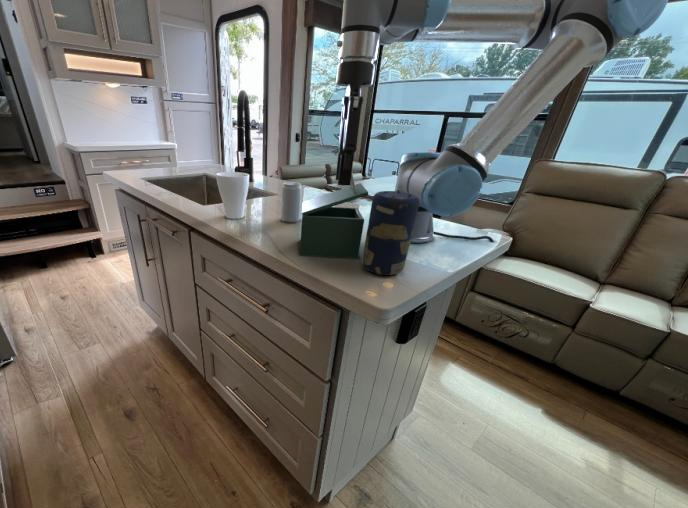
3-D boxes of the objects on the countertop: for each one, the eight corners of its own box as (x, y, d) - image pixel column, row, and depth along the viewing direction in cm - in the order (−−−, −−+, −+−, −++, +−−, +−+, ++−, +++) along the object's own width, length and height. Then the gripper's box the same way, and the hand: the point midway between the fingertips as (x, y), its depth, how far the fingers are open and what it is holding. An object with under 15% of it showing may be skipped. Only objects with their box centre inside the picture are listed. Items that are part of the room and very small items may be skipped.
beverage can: (298, 224, 102) (300, 185, 96) (278, 222, 103) (279, 183, 97) (301, 219, 108) (303, 182, 102) (283, 217, 109) (284, 180, 103)
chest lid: (361, 186, 81) (352, 147, 76) (368, 195, 71) (359, 151, 67) (303, 204, 84) (292, 168, 79) (303, 215, 74) (290, 175, 70)
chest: (352, 243, 88) (357, 208, 84) (358, 258, 79) (364, 219, 74) (300, 240, 89) (302, 205, 84) (299, 255, 79) (302, 216, 74)
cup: (222, 212, 112) (220, 171, 105) (252, 213, 111) (251, 172, 105) (215, 220, 102) (212, 176, 96) (247, 221, 102) (246, 177, 96)
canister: (409, 269, 74) (430, 190, 65) (391, 282, 68) (411, 196, 59) (373, 258, 79) (387, 183, 70) (353, 268, 73) (365, 188, 64)
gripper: (334, 68, 72) (324, 175, 84) (342, 53, 56) (329, 189, 67) (367, 69, 72) (352, 177, 84) (385, 55, 55) (364, 191, 67)
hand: (342, 182), depth 75 cm, fingers closed on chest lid, 6 cm apart
